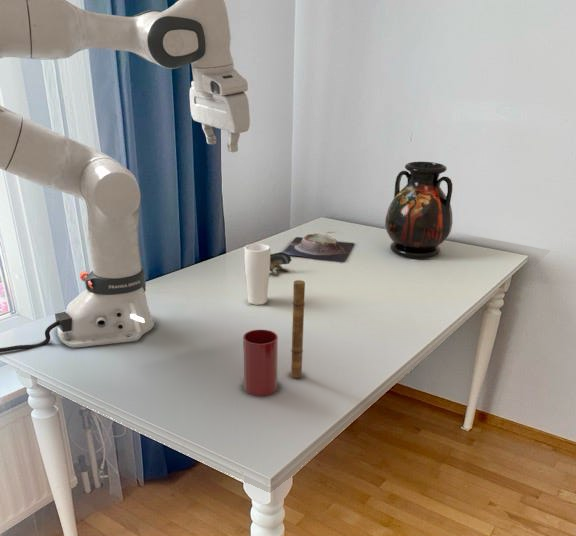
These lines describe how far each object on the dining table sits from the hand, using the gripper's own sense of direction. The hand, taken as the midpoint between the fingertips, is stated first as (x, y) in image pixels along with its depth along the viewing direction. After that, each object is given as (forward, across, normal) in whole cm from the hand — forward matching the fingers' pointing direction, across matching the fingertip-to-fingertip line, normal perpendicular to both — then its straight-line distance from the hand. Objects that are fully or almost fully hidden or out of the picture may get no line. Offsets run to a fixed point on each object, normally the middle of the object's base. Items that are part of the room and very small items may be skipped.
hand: (222, 147), depth 136 cm
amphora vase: (+49, -7, +72) cm, 88 cm away
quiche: (+47, -27, +46) cm, 71 cm away
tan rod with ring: (+38, +39, -10) cm, 55 cm away
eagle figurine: (+44, -16, +21) cm, 51 cm away
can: (+37, +38, -19) cm, 57 cm away
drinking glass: (+41, 0, +5) cm, 41 cm away
